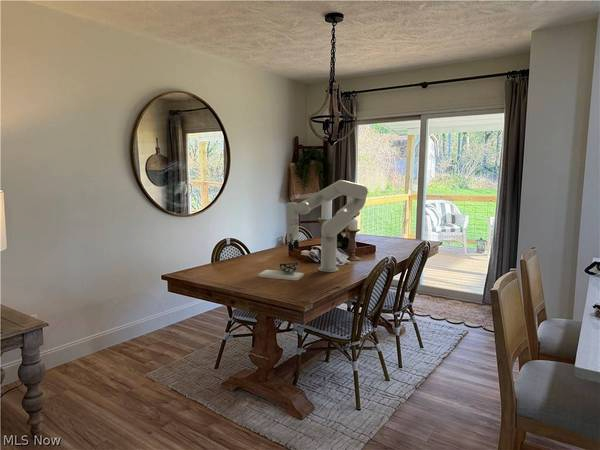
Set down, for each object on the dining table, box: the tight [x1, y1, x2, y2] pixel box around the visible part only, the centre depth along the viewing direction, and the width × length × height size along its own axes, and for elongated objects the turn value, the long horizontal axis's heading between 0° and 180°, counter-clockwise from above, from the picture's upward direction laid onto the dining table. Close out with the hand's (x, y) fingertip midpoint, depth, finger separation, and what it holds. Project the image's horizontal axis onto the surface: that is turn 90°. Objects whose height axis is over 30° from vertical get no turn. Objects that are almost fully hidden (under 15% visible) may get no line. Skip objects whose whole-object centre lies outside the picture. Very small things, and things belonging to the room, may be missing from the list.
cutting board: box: [258, 269, 305, 281], centre depth 240 cm, size 12×24×2 cm, turn 71°
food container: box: [278, 262, 300, 274], centre depth 242 cm, size 12×6×10 cm
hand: (293, 249), depth 255 cm, fingers open, 9 cm apart
